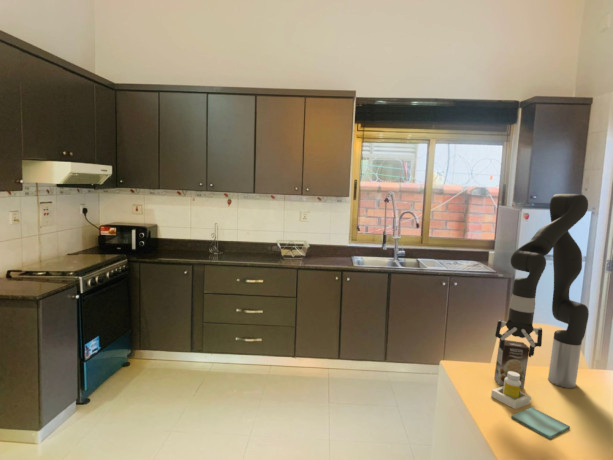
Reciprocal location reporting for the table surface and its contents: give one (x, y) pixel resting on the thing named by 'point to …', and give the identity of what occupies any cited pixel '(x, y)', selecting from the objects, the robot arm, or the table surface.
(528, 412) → the teal board
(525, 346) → the coffee box
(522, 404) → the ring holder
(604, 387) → the table surface
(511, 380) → the supplement bottle
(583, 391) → the table surface
